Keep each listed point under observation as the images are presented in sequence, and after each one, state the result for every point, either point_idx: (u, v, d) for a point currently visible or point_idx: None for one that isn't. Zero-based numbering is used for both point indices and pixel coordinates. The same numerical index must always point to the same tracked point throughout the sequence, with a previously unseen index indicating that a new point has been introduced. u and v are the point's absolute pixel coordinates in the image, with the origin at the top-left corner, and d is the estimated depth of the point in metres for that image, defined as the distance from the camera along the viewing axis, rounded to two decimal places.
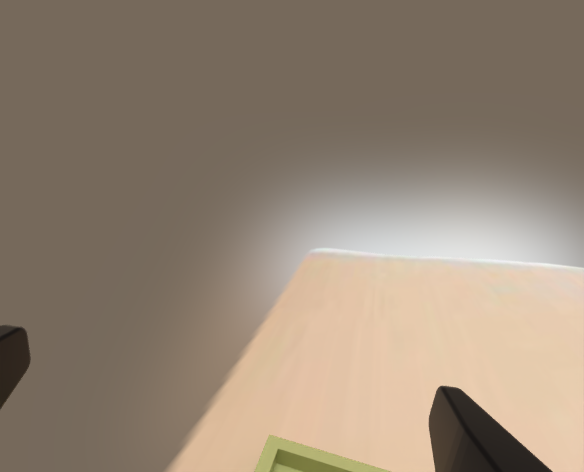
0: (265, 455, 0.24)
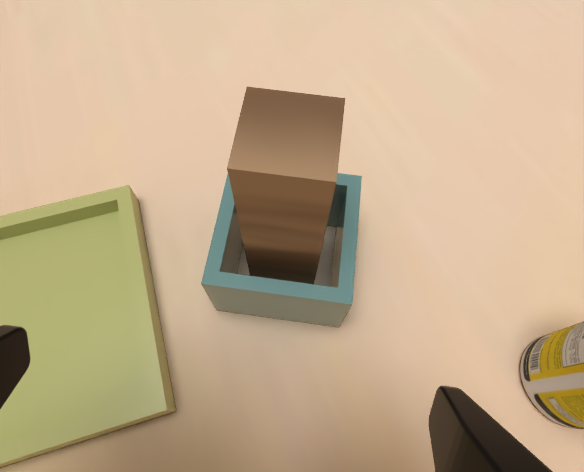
0: None
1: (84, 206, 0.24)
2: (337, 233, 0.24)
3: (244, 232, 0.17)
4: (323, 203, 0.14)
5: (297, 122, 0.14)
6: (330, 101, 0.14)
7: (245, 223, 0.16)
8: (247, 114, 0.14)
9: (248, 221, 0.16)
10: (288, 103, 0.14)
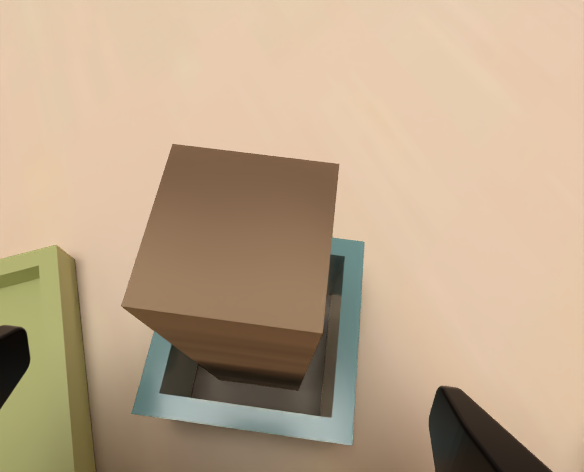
0: None
1: None
2: (332, 310, 0.18)
3: (187, 352, 0.11)
4: (303, 346, 0.08)
5: (255, 210, 0.08)
6: (314, 169, 0.08)
7: (185, 347, 0.10)
8: (169, 195, 0.08)
9: (188, 347, 0.10)
10: (241, 174, 0.08)
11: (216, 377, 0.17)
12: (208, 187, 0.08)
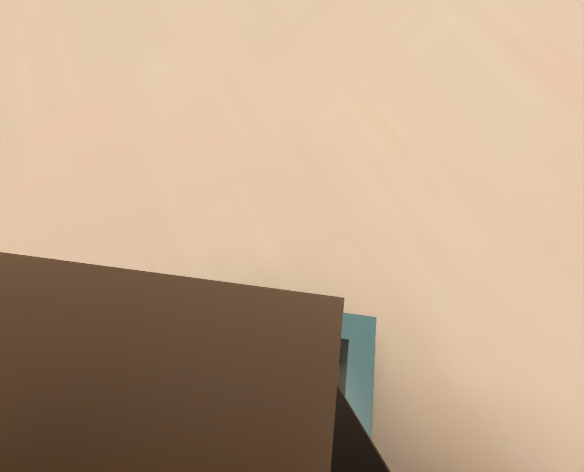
0: None
1: None
2: None
3: None
4: None
5: (154, 422, 0.03)
6: (289, 311, 0.04)
7: None
8: None
9: None
10: (130, 325, 0.04)
11: None
12: (54, 361, 0.04)
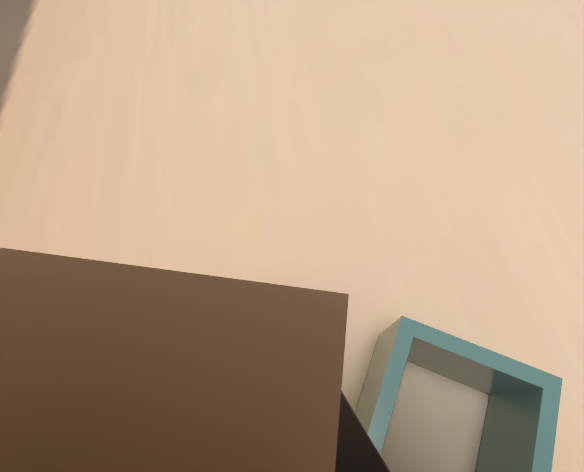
0: None
1: None
2: (499, 417, 0.19)
3: None
4: None
5: (160, 417, 0.03)
6: (294, 308, 0.04)
7: None
8: None
9: None
10: (136, 320, 0.04)
11: None
12: (60, 356, 0.04)
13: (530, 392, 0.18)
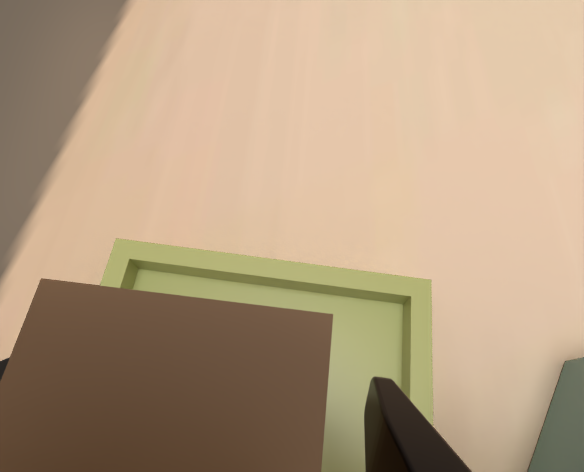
0: (111, 274, 0.16)
1: (364, 288, 0.16)
2: None
3: None
4: None
5: (179, 419, 0.04)
6: (288, 326, 0.05)
7: None
8: (21, 389, 0.04)
9: None
10: (157, 339, 0.05)
11: None
12: (95, 370, 0.04)
13: None
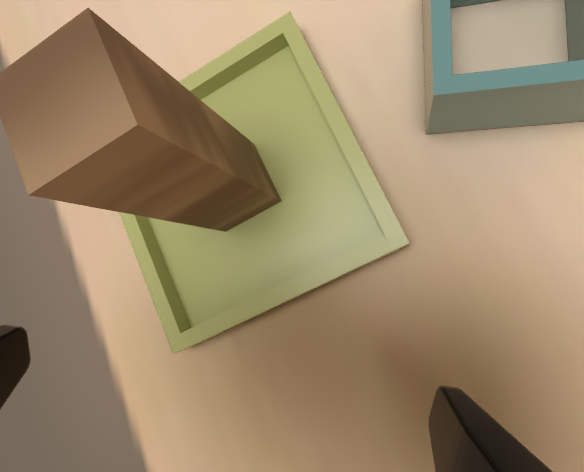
0: None
1: (250, 51, 0.21)
2: None
3: (146, 214, 0.15)
4: (163, 146, 0.11)
5: (59, 82, 0.10)
6: (75, 25, 0.10)
7: (133, 209, 0.14)
8: (9, 115, 0.11)
9: (132, 206, 0.14)
10: (37, 66, 0.10)
11: (219, 230, 0.21)
12: (25, 91, 0.11)
13: None
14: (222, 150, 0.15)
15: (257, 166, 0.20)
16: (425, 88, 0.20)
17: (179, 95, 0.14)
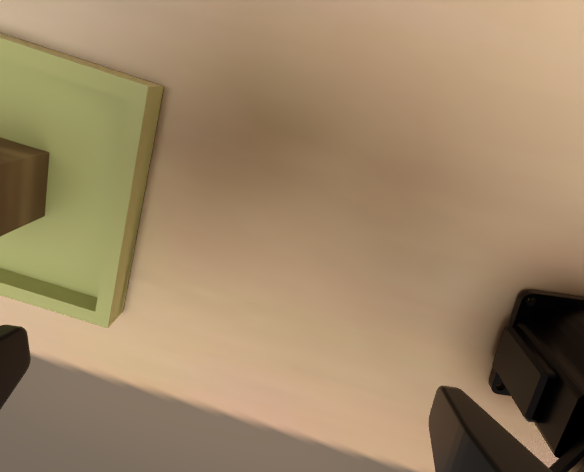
0: None
1: None
2: None
3: None
4: None
5: None
6: None
7: None
8: None
9: None
10: None
11: (33, 220, 0.21)
12: None
13: None
14: None
15: None
16: None
17: None
